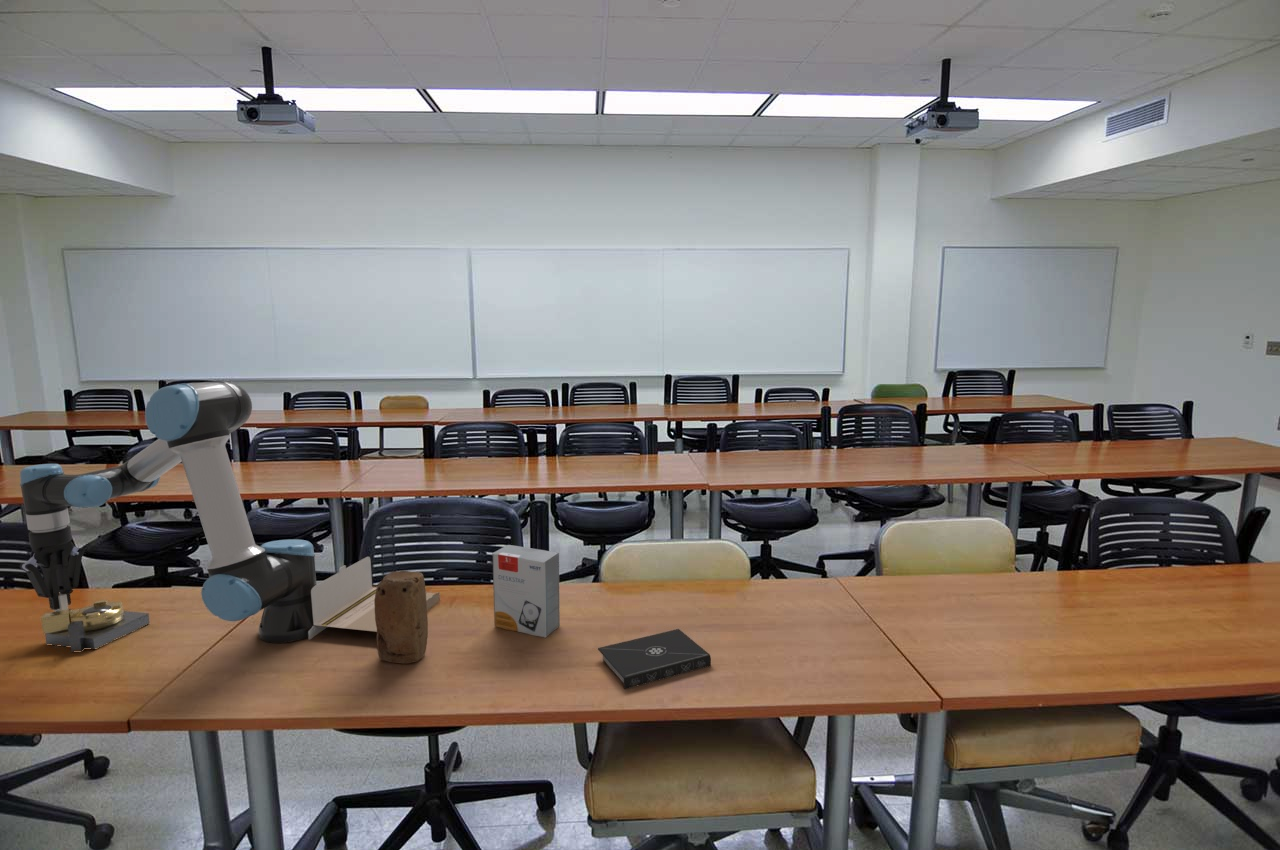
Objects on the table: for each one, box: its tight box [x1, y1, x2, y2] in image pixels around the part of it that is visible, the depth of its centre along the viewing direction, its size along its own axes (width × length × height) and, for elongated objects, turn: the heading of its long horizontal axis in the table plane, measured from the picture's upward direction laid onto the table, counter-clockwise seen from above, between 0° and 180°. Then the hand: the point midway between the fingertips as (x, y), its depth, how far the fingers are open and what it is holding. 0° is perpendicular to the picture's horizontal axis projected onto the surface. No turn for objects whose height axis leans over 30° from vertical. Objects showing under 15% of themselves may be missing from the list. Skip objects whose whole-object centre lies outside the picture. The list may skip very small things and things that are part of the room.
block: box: [374, 570, 429, 664], centre depth 146 cm, size 11×8×20 cm
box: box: [307, 556, 440, 641], centre depth 166 cm, size 35×20×14 cm, turn 168°
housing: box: [44, 610, 150, 652], centre depth 157 cm, size 14×16×7 cm
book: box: [597, 628, 712, 690], centre depth 145 cm, size 22×15×3 cm
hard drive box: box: [492, 544, 561, 638], centre depth 161 cm, size 16×8×20 cm, turn 68°
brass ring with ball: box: [40, 599, 125, 635], centre depth 157 cm, size 15×10×4 cm, turn 120°
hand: (62, 619), depth 157 cm, fingers closed
